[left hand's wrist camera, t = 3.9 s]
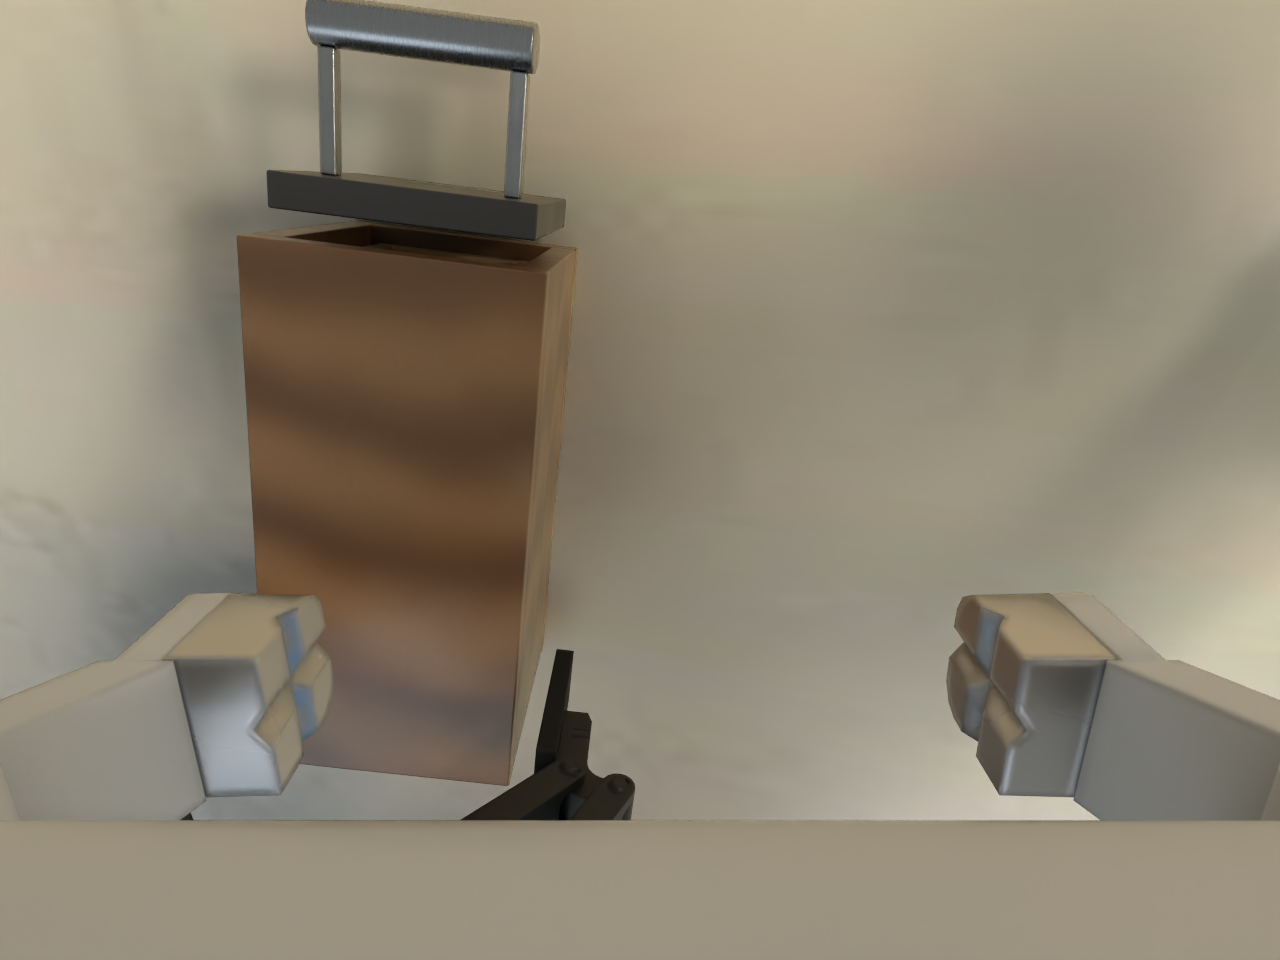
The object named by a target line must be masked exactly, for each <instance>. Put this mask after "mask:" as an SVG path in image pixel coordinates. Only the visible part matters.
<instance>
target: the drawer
mask: <svg viewBox="0 0 1280 960" xmlns="http://www.w3.org/2000/svg"><path fill="white" fill-rule="evenodd" d="M305 20H306V27H307V32H308V35H309V38H310V40H311V42H312V43H313V44H314V45H316V46H318V88H319V135H320V172H307V171H281V170H267V191H268V206H269V207H270V208H276V209H284V210H292V211H300V212H308V213H316V214H324V215H332V216H341V217H349V218H357V219H365V220H373V221H381V222H389V223H397V224H405V225H413V226H421V227H429V228H437V229H445V230H453V231H461V232H469V233H477V234H485V235H493V236H501V237H509V238H517V239H525V240H533V241H534V240H537V239H539V238H541V237H543V236H545V235H547V234H550V233H552V232H554V231H556V230H558V229H560V228H562V227H564V219H565V206H566V200H565V199H559V198H551V197H543V196H535V195H527V194H523V180H524V164H525V148H526V132H527V116H528V100H529V84H530V75H529V74H535V73H536V71H537V67H538V61H539V48H540V35H539V27H538V24H537V23H533V22H526V21H518V20H511V19H503V18H495V17H488V16H480V15H473V14H465V13H458V12H450V11H442V10H435V9H427V8H420V7H412V6H404V5H397V4H389V3H382V2H374V1H366V0H307V2H306V8H305ZM338 49H342V50H350V51H358V52H365V53H373V54H381V55H388V56H396V57H404V58H411V59H419V60H427V61H434V62H442V63H450V64H458V65H465V66H473V67H481V68H488V69H496V70H504V71H511V74H510V92H509V111H508V129H507V147H506V165H505V183H504V192H503V191H495V190H487V189H479V188H471V187H464V186H456V185H448V184H440V183H432V182H424V181H416V180H408V179H400V178H392V177H384V176H376V175H368V174H358V173H342V157H341V79H340V50H338ZM364 247H367V248H375V249H383V250H391V251H399V252H408V253H416V254H424V255H432V256H440V257H448V258H456V259H464V260H472V261H480V262H488V263H497V264H505V265H513V266H523V265H524V264H526V263H528V262H529V261H521V260H513V259H505V258H497V257H489V256H481V255H473V254H465V253H457V252H449V251H441V250H432V249H424V248H416V247H408V246H400V245H392V244H384V243H380V244H374V245H369V246H364Z"/></svg>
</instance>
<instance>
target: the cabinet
mask: <svg viewBox="0 0 1280 960" xmlns="http://www.w3.org/2000/svg"><path fill="white" fill-rule="evenodd" d="M380 243H384V244H392V245H400V246H408V247H416V248H424V249H432V250H441V251H449V252H457V253H465V254H473V255H481V256H489V257H497V258H505V259H513V260H521V261H529V262H528V263H526V264H524V265H523V266H513V265H505V264H497V263H488V262H480V261H472V260H464V259H456V258H448V257H440V256H432V255H424V254H416V253H408V252H399V251H391V250H383V249H375V248H367V247H364V246H369V245H374V244H380ZM237 249H238V267H239V284H240V301H241V318H242V336H243V353H244V370H245V388H246V405H247V422H248V440H249V457H250V474H251V492H252V509H253V526H254V544H255V561H256V578H257V594H290V595H315V597H316V598H317V599H318V600H319V601H320V603H321V605H322V610H323V615H324V620H325V625H326V627H325V629H324V630H323V632H322V633H321V635H320V636H319V638H318V640H317V641H316V642H317V643H318V645H319V646H320V647H321V648H322V649H323V650H324V651H325V652H326V653H327V654H328V655H329V656H330V657H331V663H332V670H333V695H332V699H331V703H330V707H329V711H328V715H327V717H326V719H325V721H324V722H323V724H322V726H321V728H320V730H319V731H318V732H317V733H315V734H313V735H312V736H310V737H308V738H307V739H305V740H304V741H302V747H303V753H304V757H303V758H302V760H301V762H300V763H299V764H306V765H315V766H325V767H334V768H343V769H353V770H362V771H372V772H381V773H391V774H400V775H409V776H419V777H428V778H438V779H447V780H457V781H466V782H475V783H485V784H494V785H504V786H508V785H509V782H510V778H511V773H512V769H513V765H514V761H515V757H516V752H517V748H518V744H519V740H520V736H521V732H522V728H523V724H524V719H525V715H526V711H527V707H528V703H529V699H530V695H531V690H532V686H533V682H534V678H535V674H536V670H537V666H538V661H539V657H540V653H541V651H542V646H543V639H544V627H545V616H546V604H547V593H548V582H549V570H550V559H551V547H552V536H553V525H554V513H555V502H556V490H557V479H558V468H559V456H560V445H561V433H562V422H563V411H564V399H565V388H566V376H567V365H568V354H569V342H570V331H571V319H572V308H573V297H574V285H575V274H576V262H577V251H578V248H571V247H563V246H555V245H547V244H539V243H531V242H523V241H515V240H506V239H498V238H490V237H482V236H474V235H466V234H458V233H450V232H442V231H434V230H426V229H418V228H410V227H402V226H394V225H386V224H378V223H370V222H362V221H357V220H355V221H350V222H343V223H335V224H326V225H318V226H310V227H301V228H293V229H285V230H276V231H268V232H260V233H252V234H243V235H238V236H237Z"/></svg>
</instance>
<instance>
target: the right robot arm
mask: <svg viewBox="0 0 1280 960" xmlns="http://www.w3.org/2000/svg"><path fill="white" fill-rule="evenodd" d="M573 653H574V651H569V650H560V649H557V651H556V656H555V660H554V665H553V670H552V675H551V680H550V685H549V689H548V694H547V699H546V704H545V709H544V714H543V718H542V723H541V728H540V733H539V738H538V743H537V747H536V758H535V769H534V774H533V775H532V776H530V777H529V778H527V779H525V780H524V781H522V782H521V783H519V784H517V785H516V786H514V787H513V788H511V789H509V790H508V791H506V792H505V793H503V794H501V795H500V796H498V797H497V798H495V799H493V800H492V801H490V802H489V803H487V804H485V805H484V806H482V807H481V808H479V809H477V810H476V811H474V812H472V813H471V814H469V815H468V816H466V817H464V818H463V819H461V820H631V813H632V806H633V800H634V793H635V784H634V782H633V781H632V779H630V778H629V777H627V776H625V775H622V774H611V775H608V776H607V777H605V778H604V779H603V778H600V777H598V776H596V775H595V774H593V773H592V772H591V771H590V770H589V768H588V766H587V758H588V750H589V741H590V732H591V724H592V721H591V719H590V717H589V715H588V713H582V712H572V711H567V707H568V701H569V691H570V682H571V672H572V662H573ZM181 820H193V818H192V815H191V812H190V813H189V814H187V815H186V816H185V817H183V818H182V819H181Z"/></svg>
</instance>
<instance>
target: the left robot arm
mask: <svg viewBox="0 0 1280 960" xmlns="http://www.w3.org/2000/svg"><path fill="white" fill-rule="evenodd" d="M325 627H326V625H325V620H324V615H323V610H322V605H321V603H320V601H319V600H318V599H317V598H316V597H315V595H290V594H234V593H202V594H188V595H187V596H186V597H185V598H184V599H183V600H181V601H180V602H179V603H178V604H177V605H176V606H175V607H174V608H172V609H171V610H170V611H169V612H168V613H167V614H166V615H165V616H163V617H162V618H161V619H160V620H159V621H158V622H157V623H156V624H154V625H153V626H152V627H151V628H150V629H149V630H148V631H147V632H145V633H144V634H143V635H142V636H141V637H140V638H139V639H138V640H136V641H135V642H134V643H133V644H132V645H131V646H130V647H128V648H127V649H126V650H125V651H124V652H123V653H122V654H121V655H119V656H118V657H117V658H116V659H115V660H101V661H98V662H95V663H93V664H90V665H88V666H85V667H83V668H80V669H78V670H75V671H73V672H70V673H68V674H65V675H62V676H60V677H57V678H55V679H52V680H50V681H47V682H45V683H42V684H40V685H37V686H35V687H32V688H29V689H27V690H24V691H22V692H19V693H17V694H14V695H12V696H9V697H7V698H4V699H2V700H0V960H1280V700H1278V699H1276V698H1273V697H1271V696H1268V695H1266V694H1263V693H1260V692H1258V691H1255V690H1253V689H1250V688H1248V687H1245V686H1243V685H1240V684H1238V683H1235V682H1233V681H1230V680H1228V679H1225V678H1222V677H1220V676H1217V675H1215V674H1212V673H1210V672H1207V671H1205V670H1202V669H1200V668H1197V667H1195V666H1192V665H1190V664H1187V663H1185V662H1182V661H1179V660H1165V659H1164V658H1163V657H1162V656H1161V655H1159V654H1158V653H1157V652H1156V651H1155V650H1154V649H1153V648H1152V647H1150V646H1149V645H1148V644H1147V643H1146V642H1145V641H1144V640H1143V639H1141V638H1140V637H1139V636H1138V635H1137V634H1136V633H1135V632H1134V631H1132V630H1131V629H1130V628H1129V627H1128V626H1127V625H1126V624H1125V623H1124V622H1122V621H1121V620H1120V619H1119V618H1118V617H1117V616H1116V615H1115V614H1113V613H1112V612H1111V611H1110V610H1109V609H1108V608H1107V607H1106V606H1104V605H1103V604H1102V603H1101V602H1100V601H1099V600H1098V599H1097V598H1095V597H1094V596H1093V595H1090V594H1086V593H1082V592H1081V593H1059V594H1050V593H1037V594H995V595H970V596H965V597H962V599H961V602H960V604H959V606H958V608H957V613H956V619H955V625H954V627H955V629H956V630H957V632H958V633H959V635H960V636H961V638H962V640H963V641H964V642H963V643H962V645H961V646H960V647H959V648H958V649H957V650H956V651H955V652H954V653H953V654H952V655H951V656H950V657H949V664H948V672H947V690H948V701H949V705H950V708H951V711H952V714H953V717H954V719H955V721H956V723H957V724H958V726H959V728H960V730H961V731H962V732H963V733H965V734H967V735H968V736H970V737H972V738H973V739H975V740H976V741H978V747H977V753H976V757H977V759H978V760H979V762H980V763H981V765H982V767H983V768H984V770H985V772H986V773H987V775H988V777H989V778H990V780H991V782H992V783H993V785H994V787H995V788H996V790H997V792H998V793H999V795H1012V796H1049V797H1074V801H1075V802H1077V803H1078V804H1079V805H1081V806H1082V807H1083V808H1085V809H1086V810H1087V811H1089V812H1090V813H1091V814H1093V815H1094V816H1096V817H1097V818H1098V819H1100V820H1101V821H983V820H181V819H182V818H183V817H185V816H186V815H187V814H189V813H190V812H192V811H193V810H194V809H196V808H197V807H198V806H200V805H201V804H202V803H204V802H205V801H206V797H230V796H266V795H281V794H282V792H283V790H284V789H285V787H286V785H287V784H288V782H289V780H290V779H291V777H292V775H293V773H294V772H295V770H296V768H297V767H298V765H299V763H300V762H301V760H302V758H303V757H304V753H303V747H302V741H304V740H305V739H307V738H308V737H310V736H312V735H313V734H315V733H317V732H318V731H319V730H320V728H321V726H322V724H323V722H324V721H325V719H326V717H327V715H328V711H329V707H330V703H331V699H332V695H333V670H332V663H331V657H330V656H329V655H328V654H327V653H326V652H325V651H324V650H323V649H322V648H321V647H320V646H319V645H318V643H317V642H316V641H317V640H318V638H319V636H320V635H321V633H322V632H323V630H324V629H325Z"/></svg>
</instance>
